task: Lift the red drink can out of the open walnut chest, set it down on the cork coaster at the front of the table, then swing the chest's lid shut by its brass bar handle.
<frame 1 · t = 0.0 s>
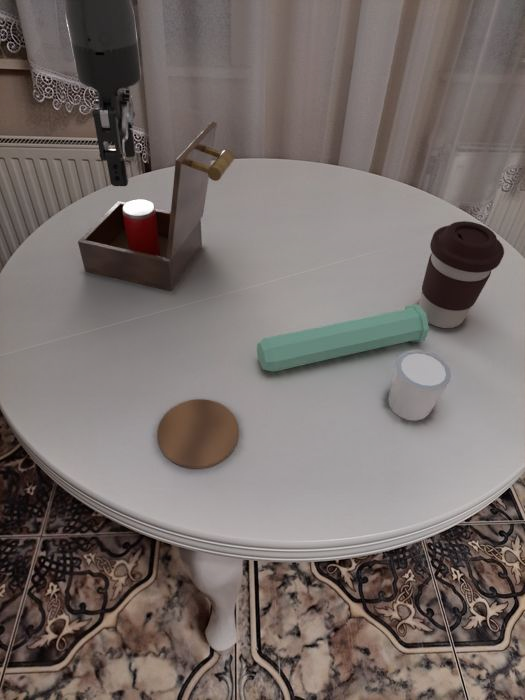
hand: (124, 169, 70), 19 cm above the table, tool pointing down, fingers open, 8 cm apart
can: (145, 254, 88), point 1 cm above the table, touching chest
chest: (145, 258, 88), on the table
container: (337, 352, 75), on the table
coaster: (198, 433, 63), on the table
shot glass: (408, 404, 68), on the table
coffee cup: (439, 315, 82), on the table
lid: (205, 197, 76), point 14 cm above the table, hinge at 100.0°
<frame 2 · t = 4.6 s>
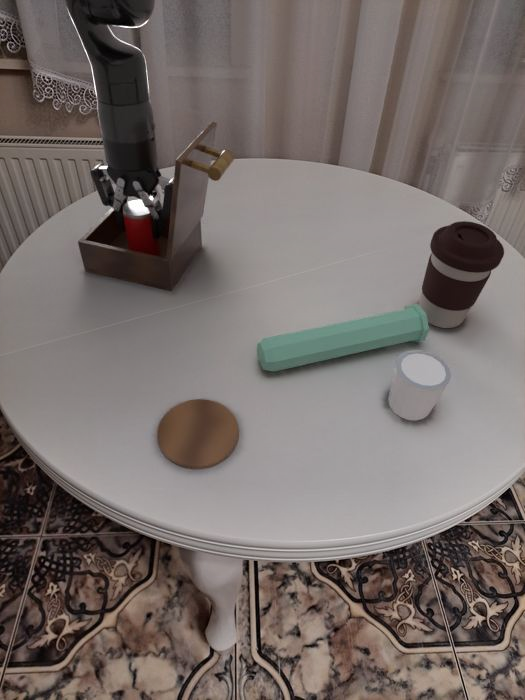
hand: (142, 232, 84), 5 cm above the table, tool pointing down, fingers closed on can, 5 cm apart
can: (145, 254, 88), point 1 cm above the table, touching chest, gripper
everything else where it was.
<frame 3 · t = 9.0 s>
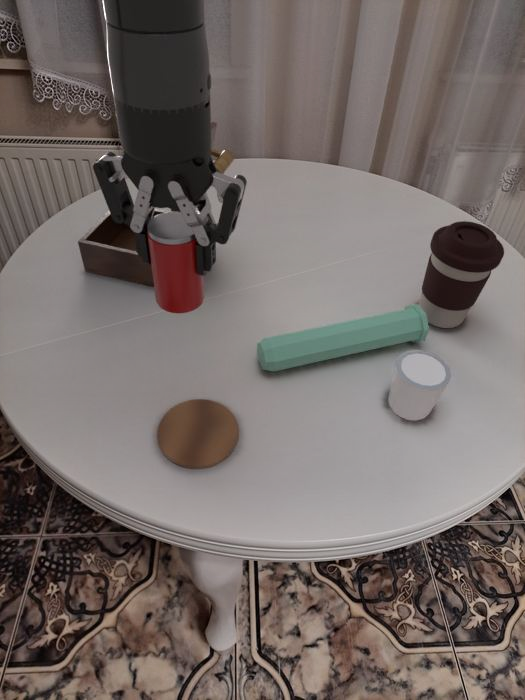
hand: (177, 264, 52), 21 cm above the table, tool pointing down, fingers closed on can, 5 cm apart
can: (180, 297, 55), point 17 cm above the table, touching gripper
everything else where it was.
when the fingers open (5 cm above the table, at t = 13.7 s): can stays where it is, resting on coaster.
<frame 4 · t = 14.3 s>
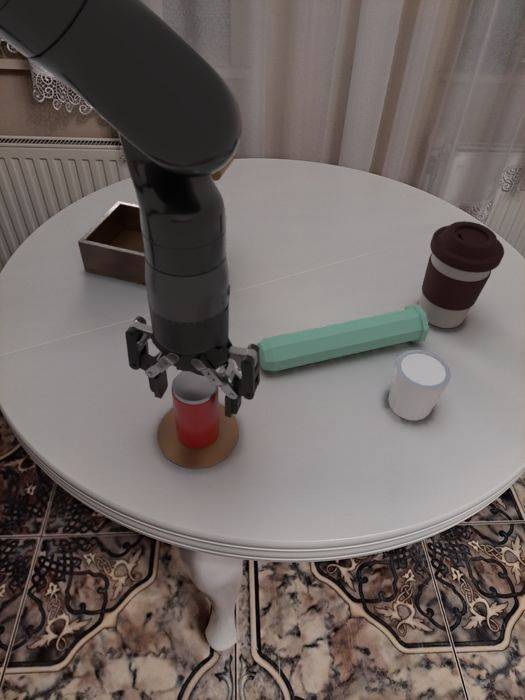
hand: (196, 401, 59), 6 cm above the table, tool pointing down, fingers open, 8 cm apart
can: (198, 431, 63), point 1 cm above the table, touching coaster
everything else where it was.
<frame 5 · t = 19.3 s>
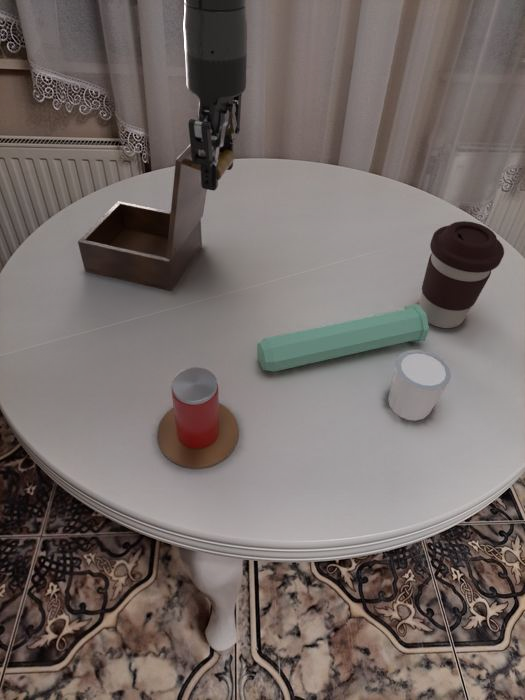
hand: (217, 177, 74), 17 cm above the table, tool pointing down, fingers closed on lid, 6 cm apart
lid: (205, 197, 76), point 14 cm above the table, hinge at 100.0°, touching gripper
everything else where it was.
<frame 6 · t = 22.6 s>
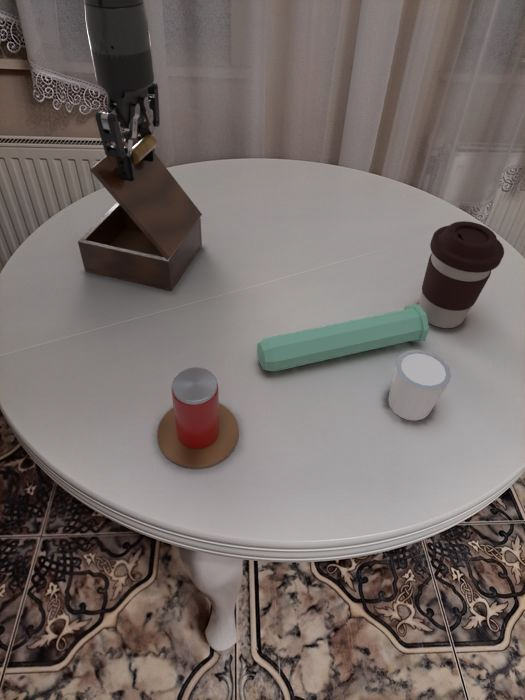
hand: (138, 169, 76), 16 cm above the table, tool pointing down, fingers closed on lid, 6 cm apart
lid: (161, 187, 78), point 14 cm above the table, hinge at 50.5°, touching gripper
everything else where it was.
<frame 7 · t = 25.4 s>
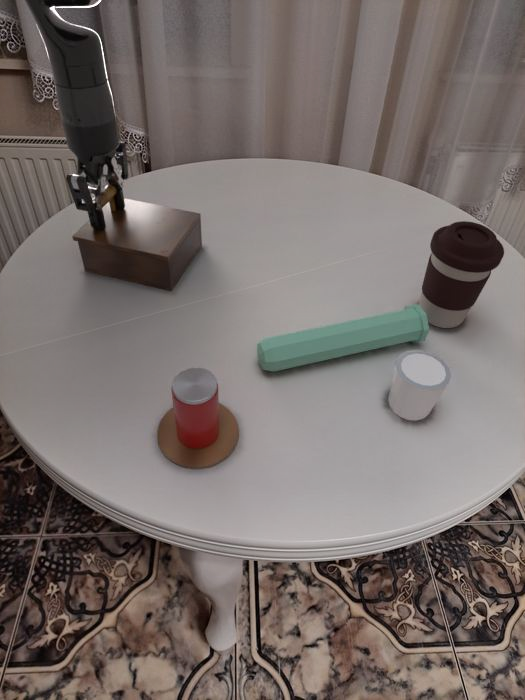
hand: (109, 217, 84), 7 cm above the table, tool pointing down, fingers closed on lid, 6 cm apart
lid: (137, 214, 82), point 8 cm above the table, hinge at -0.2°, touching chest, gripper
everything else where it was.
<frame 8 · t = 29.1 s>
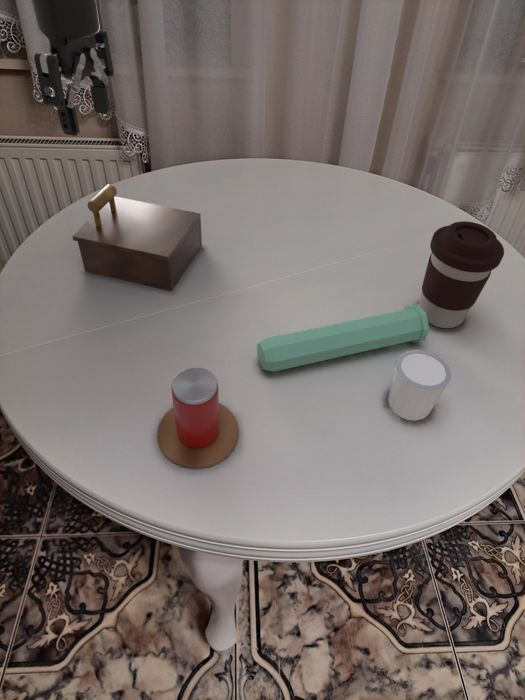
hand: (88, 122, 73), 22 cm above the table, tool pointing down, fingers open, 8 cm apart
lid: (137, 214, 82), point 8 cm above the table, hinge at -0.2°, touching chest
everything else where it was.
at the end: can inside the target area on the coaster (0.1 cm from its centre), point 0.6 cm above the coaster's base; can tilted 0°; lid at +0° (first picture: +100°) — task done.
